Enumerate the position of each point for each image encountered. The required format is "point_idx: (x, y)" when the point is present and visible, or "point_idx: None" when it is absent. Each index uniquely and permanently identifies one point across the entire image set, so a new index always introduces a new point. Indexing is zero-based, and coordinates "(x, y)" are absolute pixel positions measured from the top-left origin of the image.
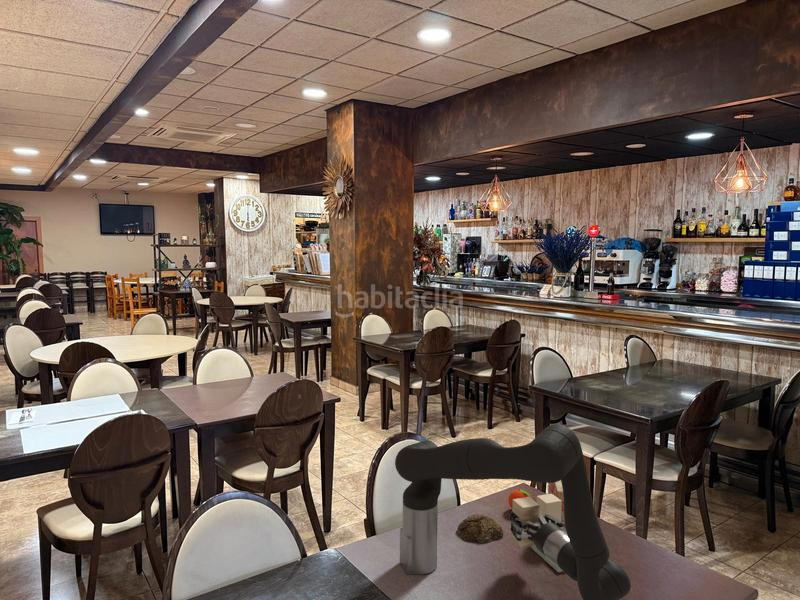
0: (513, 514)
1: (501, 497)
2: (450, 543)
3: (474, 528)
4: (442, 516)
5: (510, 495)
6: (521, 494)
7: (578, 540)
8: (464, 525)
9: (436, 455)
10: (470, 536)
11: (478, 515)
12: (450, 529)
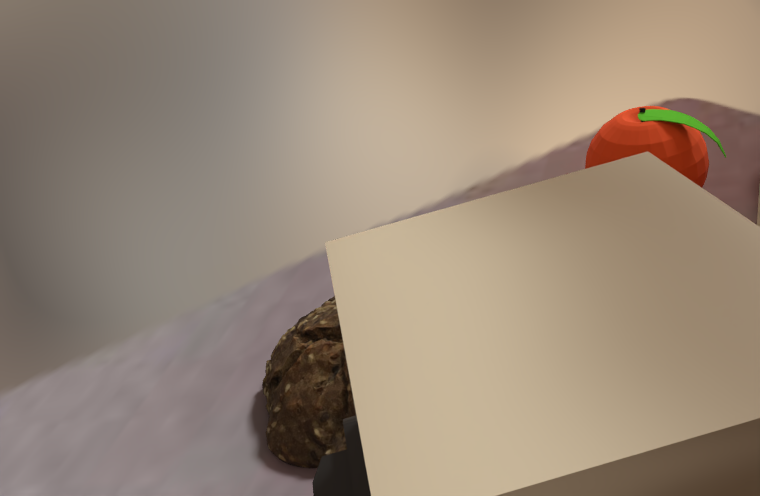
0: (357, 485)
1: (572, 158)
2: (177, 483)
3: (321, 383)
4: (266, 286)
5: (592, 146)
6: (653, 131)
7: None
8: (282, 359)
9: None
10: (293, 435)
11: None
12: (248, 367)
